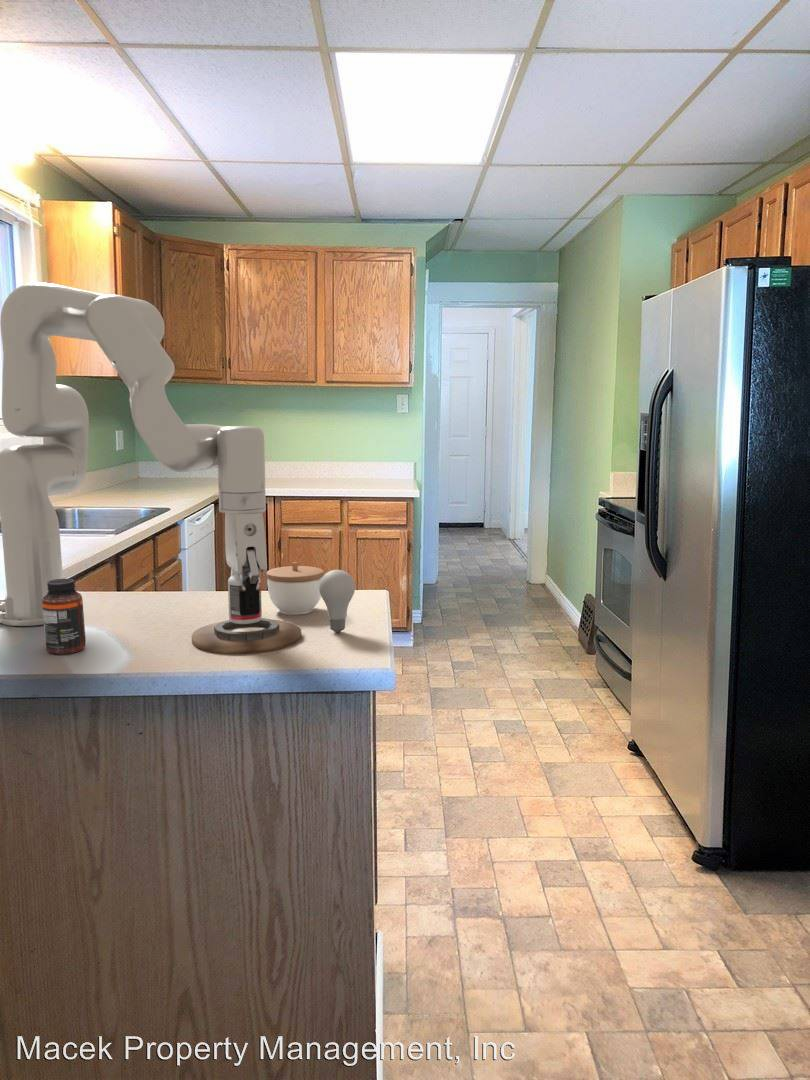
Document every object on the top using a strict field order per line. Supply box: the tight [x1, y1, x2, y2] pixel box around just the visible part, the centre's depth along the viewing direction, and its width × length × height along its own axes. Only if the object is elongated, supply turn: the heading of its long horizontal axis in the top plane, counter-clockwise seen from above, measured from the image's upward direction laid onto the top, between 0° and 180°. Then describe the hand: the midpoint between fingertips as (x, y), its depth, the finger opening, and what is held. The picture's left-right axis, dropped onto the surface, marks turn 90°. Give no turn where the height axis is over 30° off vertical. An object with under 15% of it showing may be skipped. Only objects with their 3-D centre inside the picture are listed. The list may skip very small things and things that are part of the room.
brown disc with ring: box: [191, 617, 302, 655], centre depth 139 cm, size 18×18×2 cm
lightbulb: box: [319, 569, 356, 634], centre depth 141 cm, size 6×6×11 cm
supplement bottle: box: [42, 578, 87, 656], centre depth 131 cm, size 6×6×11 cm
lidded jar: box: [266, 561, 325, 616], centre depth 157 cm, size 11×11×9 cm
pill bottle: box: [227, 565, 263, 624], centre depth 138 cm, size 5×5×10 cm
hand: (245, 609), depth 138 cm, fingers closed on pill bottle, 5 cm apart
